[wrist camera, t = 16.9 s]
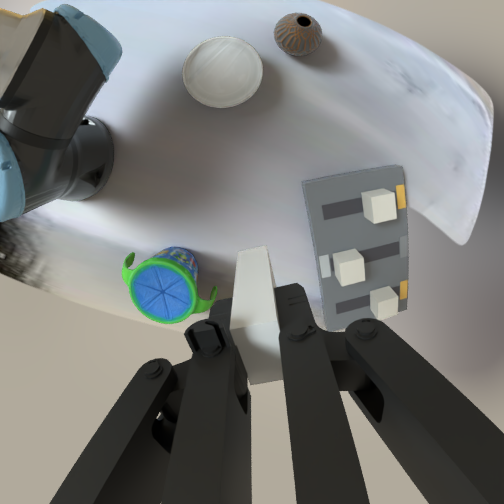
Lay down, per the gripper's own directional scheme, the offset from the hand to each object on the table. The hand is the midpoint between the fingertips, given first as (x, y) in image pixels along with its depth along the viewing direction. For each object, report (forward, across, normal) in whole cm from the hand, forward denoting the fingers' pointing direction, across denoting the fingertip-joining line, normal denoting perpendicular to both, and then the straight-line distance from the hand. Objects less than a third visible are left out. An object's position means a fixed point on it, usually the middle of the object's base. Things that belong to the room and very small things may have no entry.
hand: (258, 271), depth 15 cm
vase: (+31, +12, +22) cm, 40 cm away
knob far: (+28, +18, -24) cm, 41 cm away
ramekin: (+31, 0, +18) cm, 36 cm away
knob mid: (+28, +12, -15) cm, 34 cm away
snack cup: (+31, -16, -10) cm, 36 cm away
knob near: (+28, +18, -6) cm, 34 cm away
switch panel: (+30, +16, -15) cm, 37 cm away
